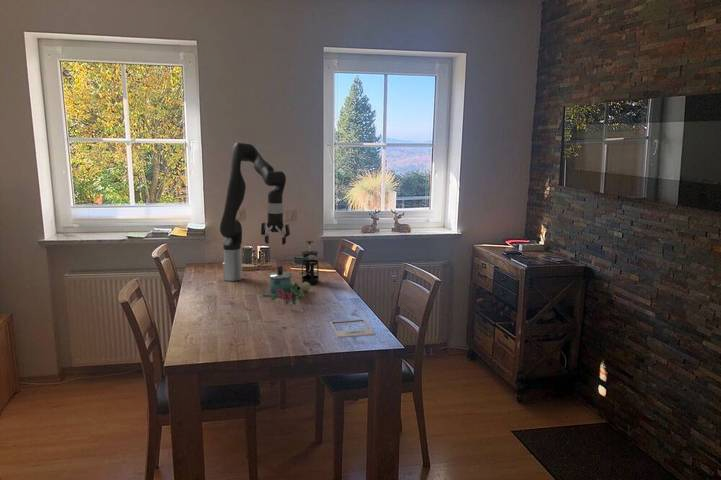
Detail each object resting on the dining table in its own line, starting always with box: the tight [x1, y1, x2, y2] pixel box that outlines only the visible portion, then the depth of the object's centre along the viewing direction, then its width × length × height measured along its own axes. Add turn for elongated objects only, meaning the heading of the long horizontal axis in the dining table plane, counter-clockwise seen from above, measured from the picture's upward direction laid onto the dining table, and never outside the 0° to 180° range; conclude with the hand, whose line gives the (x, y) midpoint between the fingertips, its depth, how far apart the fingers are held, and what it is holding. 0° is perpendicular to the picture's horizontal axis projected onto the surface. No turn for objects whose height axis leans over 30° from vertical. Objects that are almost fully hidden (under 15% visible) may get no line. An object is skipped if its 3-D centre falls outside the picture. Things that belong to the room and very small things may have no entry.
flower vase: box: [270, 281, 312, 306], centre depth 260 cm, size 12×12×35 cm
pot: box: [262, 277, 295, 298], centre depth 273 cm, size 14×14×9 cm
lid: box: [268, 265, 292, 279], centre depth 272 cm, size 11×11×5 cm
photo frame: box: [329, 318, 375, 339], centre depth 222 cm, size 15×1×18 cm
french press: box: [300, 240, 320, 286], centre depth 291 cm, size 12×9×23 cm
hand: (275, 243), depth 273 cm, fingers open, 8 cm apart
